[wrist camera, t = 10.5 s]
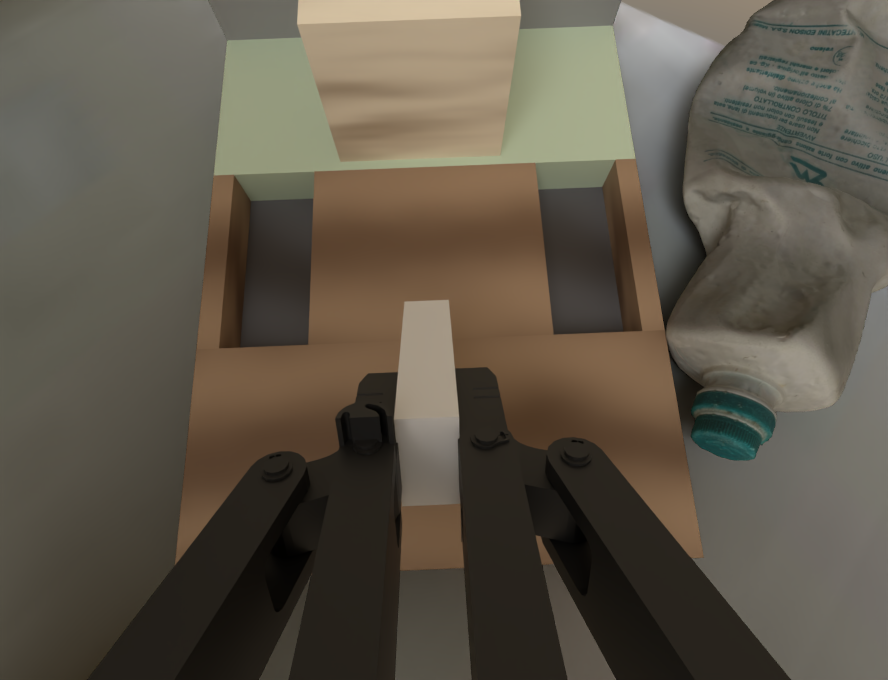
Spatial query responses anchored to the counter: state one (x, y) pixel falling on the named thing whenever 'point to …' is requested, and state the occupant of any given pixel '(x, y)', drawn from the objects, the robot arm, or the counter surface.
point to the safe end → (524, 141)
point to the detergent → (784, 216)
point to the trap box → (472, 324)
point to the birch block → (412, 74)
